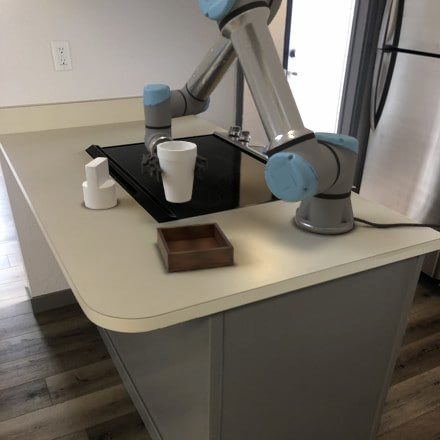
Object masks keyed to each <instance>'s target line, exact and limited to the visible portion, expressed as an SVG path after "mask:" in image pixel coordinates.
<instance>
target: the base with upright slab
mask: <svg viewBox="0 0 440 440" xmlns="http://www.w3.org/2000/svg"><path fill="white" fill-rule="evenodd" d="M109 169H110V168H109V161H108V158H107V157H98V156H97V157H96V158H94V159H93V160H91V161H90V162H88V163H87V164H85V165H84V170H85V178H86V180H85V181H83V182H82V192H83V199H84V206H85V207H86V208H88V209H91V210H106V209H110V208H113V207H115V206H117V204H118V199H117V198H118V197H117V191H116V190H117V188H116V181H115V180H114V179H112V178H110V171H109Z"/></svg>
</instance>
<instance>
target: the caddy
mask: <svg viewBox="0 0 440 440" xmlns="http://www.w3.org/2000/svg"><path fill="white" fill-rule="evenodd" d="M156 243H157V247H158V250H159V253H160V254H161V257H162V259H163V262H164V265H165V267H166V270H167V273H174V272H184V271H192V270H200V269H202V270H203V269H210V268H217V267H226V266H233V265H234V255H235V253H234V252H235V251H234V250H235V248H234V246H233V244H232V243H231V242H230V240H229V239H228V237H227V236H226V234H225V233H224V231H223V230H222V228H221V227H220V225H219V224H218V223H217V222H206V223H205V222H203V223H194V224H184V225H183V224H182V225H174V226H161V227H156Z"/></svg>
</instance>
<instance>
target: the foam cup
mask: <svg viewBox="0 0 440 440" xmlns="http://www.w3.org/2000/svg"><path fill="white" fill-rule="evenodd" d="M197 154H198V147H197V144H196V143H194V142H189V141H182V140H174V141H171V142H164V143H160V144H158V145H157V156H158V158H159V162H160V169H161V171H162V184H163V189H164V195H165V199H166V201H168V202H170V203H175V204H176V203H179V204H181V203H186V202H189V201H191V200H192V195H193V186H194V177H195V172H194V169H195V161H196V156H197Z"/></svg>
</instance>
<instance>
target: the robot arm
mask: <svg viewBox="0 0 440 440" xmlns="http://www.w3.org/2000/svg"><path fill="white" fill-rule="evenodd" d="M282 2H283V0H197V3H198V7H199V9H200V11H201V13H202V15H203V16H205V18H208V19H209V20H211V21H215V22H216V24H217V27H218V30H219V34H218V35H217V37H216V38H215V39H214V42H213V43H212V44H211V46H210V47H209V49H208V50H207V52H206V53H205V55H204V56H203V58H202V59H201V61H200V62H199V63H198V65H197V67H196V68H195V70H194V71H193V72H192V74H191V76H190V77H189V78H188V79H187V81H186V83H185V84H184V85H183V87H182V88H179V89H171V87H170V86H169V85H168V84H164V83H152V84H150V83H149V84H146V85H145V86H144V87H143V89H142V91H143V92H142V97H143V98H142V104H143V113H144V131H145V132H144V138H143V140H144V146H145V148H146V150H147V151H148V152H149V154H148V153H145V152H144V153H142V160H141V162H140V166H141V168H140V169H141V174H144V175H146V174H147V173H148V174H149V177H150V178H156V180H157V182H158V183H163V179H162V171H161V168H160V162H159V158H158V156H157V145H158V144H160V143H164V142H171V141H175V140H174V139H173V136H172V135H173V134H172V133H173V132H172V131H173V130H172V120H173V119H178V118H182V117H189V116H196V115H197V116H198V115H200V114H202V113H205V112H206V111H207V110H208V109H209V107H210V103H211V97H210V96H211V95H212V94H213V92H214V91H215V90H216V89H217V88H218V86H219V85H220V83H221V82H222V81H223V79H224V78H225V76H227V74H228V72H230V70H231V69H232V68H233V66H234V65H235V63H236V62H237V61H238V64H239V67H240V68H241V71H242V74H243V77H244V79H245V83H246V85H247V87H248V90H249V93H250V95H251V98H252V100H253V103H254V105H255V109H256V111H257V114H258V117H259V119H260V122H261V124H262V127H263V130H264V132H265V136H266V138H267V141H268V144H267V147H266V149H265V155H266V157H267V162H266V164H265V170H264V179H265V183H266V185H267V187H268V189H269V191H270V192H271V194H273V195H274V196H275V197H276V198H277V199H279V200H280V201H282V202H286V203H289V204H290V203H291V204H292V203H293V204H295V203H299V202H300V203H299V206H298V207H297V208H296V210H295V217H294V223H295V224H296V225H297V226H298V227H299V228H300V229H303V230H305V231H307V232H310V233H313V234H314V233H315V234H321V235H339V234H345V233H347V232H350V231H351V230H353V228H354V224H355V222H358V223H362V224H365V225H368V226H370V227H375V228H401V227H402V228H404V227H405V228H406V227H407V228H435V229H437V228H438V229H440V224H438V223H414V222H413V223H409V222H408V223H407V222H400V223H399V222H398V223H375V222H372V221H369V220H366V219H363V218H359V217H355V216H354V215H355V214H354V210H353V204H352V198H351V196H352V192H353V191H352V189H353V185H354V179H355V172H356V168H357V167H356V166H357V160H358V156H359V145H360V144H359V140H358V139H357V138H356V137H354V136H350V135H347V134H342V133H335V132H325V131H316V132H314V130H312V129H310V128H308V127H305V124H304V121H303V120H302V119H303V118H302V116H301V114H300V110H299V107H298V105H297V102H296V100H295V96H294V94H293V91H292V88H291V87H290V86H291V85H290V83H289V80H288V77H287V74H286V72H285V69H284V66H283V64H282V61H281V59H280V56H279V53H278V50H277V47H276V44H275V42H274V38H273V36H272V34H271V30H270V28H269V26H270V25H271V24H272V22H273V20H275V17H276V15H277V14H278V12H279V10H280V8H281V6H282ZM206 170H208V159H207V158H205V157H203V156H201V155H199V154H198V153H197V156H196V161H195V169H194V174H196V176H197V177H198V179H199V180H204V173H205V171H206Z"/></svg>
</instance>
